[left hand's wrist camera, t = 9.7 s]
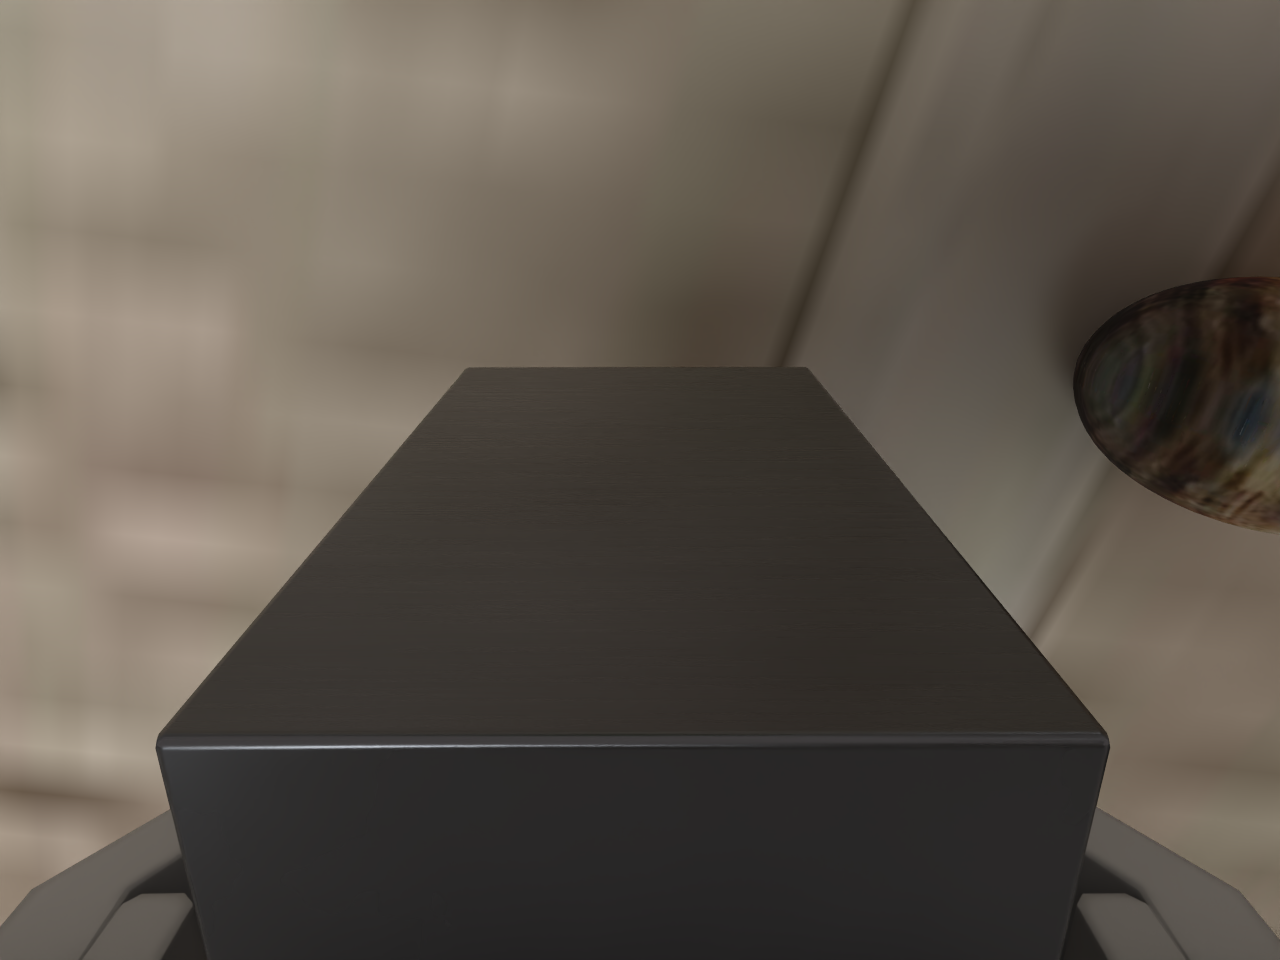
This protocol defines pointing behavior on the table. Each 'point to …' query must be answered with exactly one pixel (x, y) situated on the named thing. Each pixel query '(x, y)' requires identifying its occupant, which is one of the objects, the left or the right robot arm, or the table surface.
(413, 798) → the bar
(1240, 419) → the seashell
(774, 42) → the table surface
